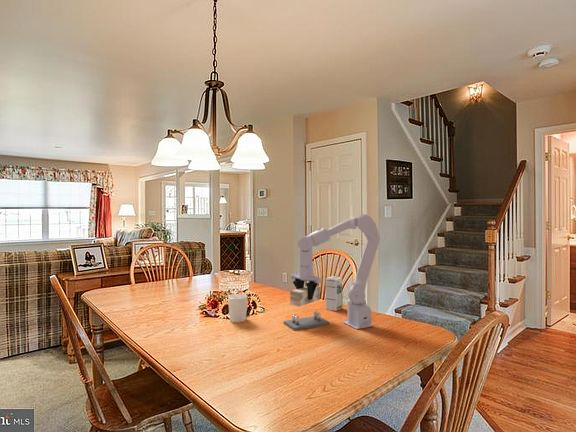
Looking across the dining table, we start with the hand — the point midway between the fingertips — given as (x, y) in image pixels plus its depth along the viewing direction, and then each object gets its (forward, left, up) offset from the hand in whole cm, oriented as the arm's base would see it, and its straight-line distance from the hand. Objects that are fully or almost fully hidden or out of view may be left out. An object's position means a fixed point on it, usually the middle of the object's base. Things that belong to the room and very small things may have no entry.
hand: (305, 298), depth 150 cm
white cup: (+14, +25, -10) cm, 30 cm away
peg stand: (-3, +2, -9) cm, 10 cm away
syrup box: (+10, -20, -10) cm, 24 cm away
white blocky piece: (0, 0, -2) cm, 2 cm away
